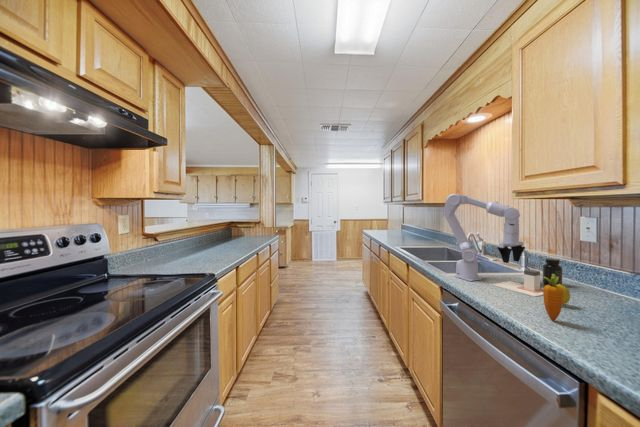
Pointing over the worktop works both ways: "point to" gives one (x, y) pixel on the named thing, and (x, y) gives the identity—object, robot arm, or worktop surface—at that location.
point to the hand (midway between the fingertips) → (511, 261)
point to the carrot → (553, 297)
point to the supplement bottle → (552, 270)
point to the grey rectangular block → (532, 280)
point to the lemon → (565, 293)
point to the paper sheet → (519, 288)
